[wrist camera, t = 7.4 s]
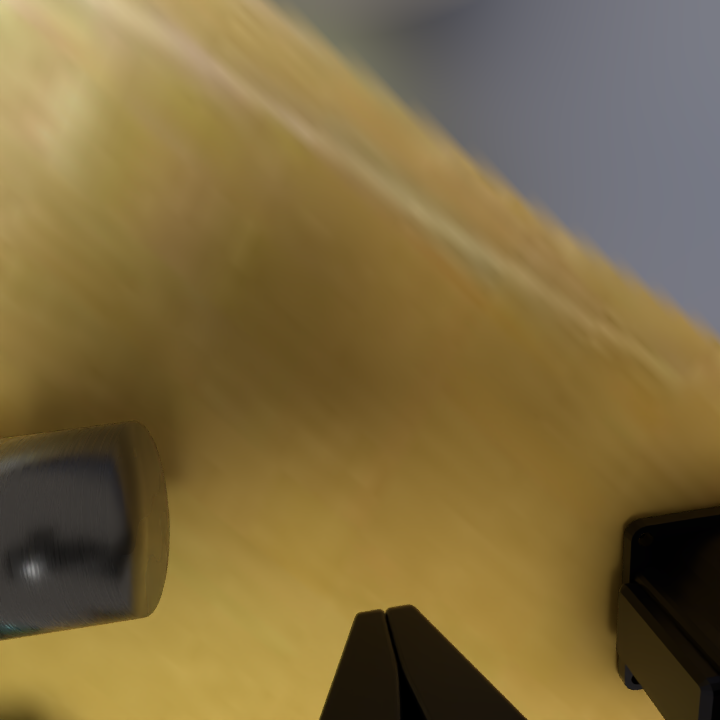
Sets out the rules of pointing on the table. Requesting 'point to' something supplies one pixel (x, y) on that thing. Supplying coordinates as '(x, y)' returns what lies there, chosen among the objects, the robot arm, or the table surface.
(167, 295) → the table surface
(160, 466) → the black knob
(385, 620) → the robot arm
